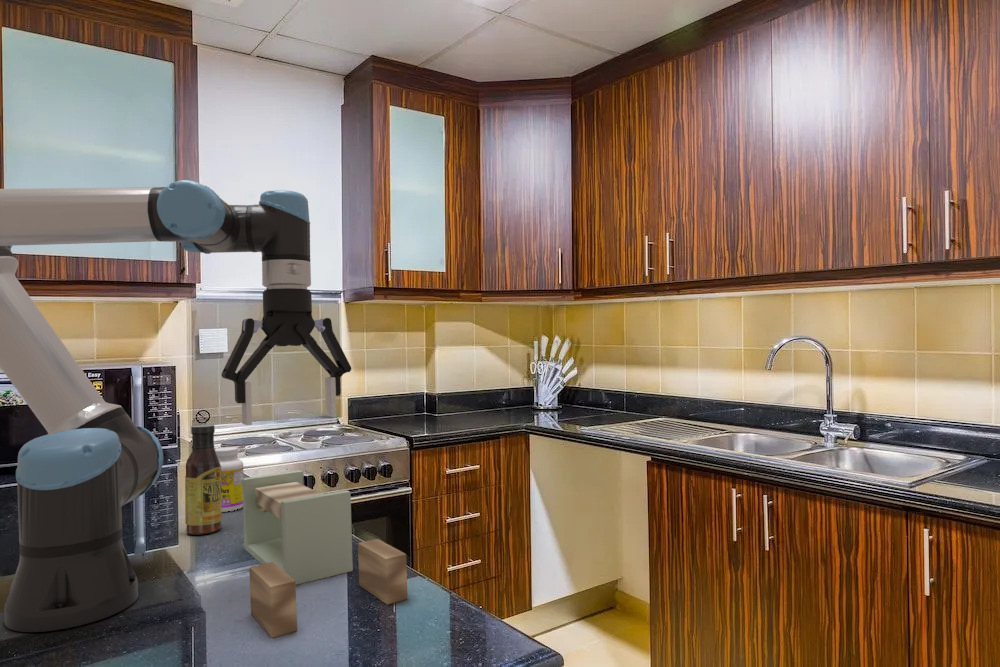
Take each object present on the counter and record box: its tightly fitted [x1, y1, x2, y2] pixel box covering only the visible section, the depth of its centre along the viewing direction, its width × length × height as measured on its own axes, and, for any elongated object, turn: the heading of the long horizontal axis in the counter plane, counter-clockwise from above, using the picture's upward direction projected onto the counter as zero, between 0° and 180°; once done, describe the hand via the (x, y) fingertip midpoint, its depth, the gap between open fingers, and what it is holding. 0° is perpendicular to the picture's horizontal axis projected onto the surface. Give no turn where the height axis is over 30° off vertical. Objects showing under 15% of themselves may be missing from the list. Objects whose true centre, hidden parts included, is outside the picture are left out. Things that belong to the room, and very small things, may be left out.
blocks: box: [249, 538, 408, 638], centre depth 87 cm, size 18×9×6 cm, turn 126°
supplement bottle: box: [214, 446, 244, 513], centre depth 141 cm, size 7×7×13 cm
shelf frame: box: [242, 469, 354, 586], centre depth 107 cm, size 23×10×12 cm, turn 36°
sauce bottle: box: [184, 424, 223, 536], centre depth 125 cm, size 7×6×20 cm
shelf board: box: [255, 482, 321, 520], centre depth 107 cm, size 18×7×2 cm, turn 36°
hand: (290, 420), depth 107 cm, fingers open, 13 cm apart
